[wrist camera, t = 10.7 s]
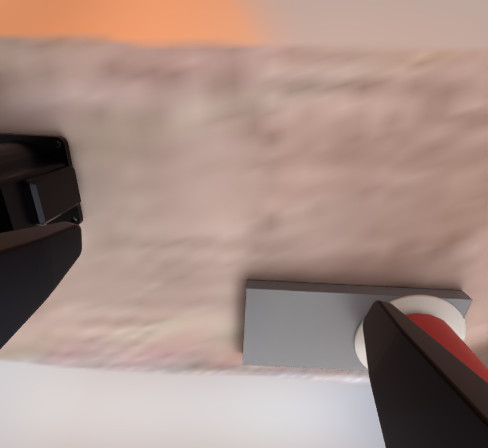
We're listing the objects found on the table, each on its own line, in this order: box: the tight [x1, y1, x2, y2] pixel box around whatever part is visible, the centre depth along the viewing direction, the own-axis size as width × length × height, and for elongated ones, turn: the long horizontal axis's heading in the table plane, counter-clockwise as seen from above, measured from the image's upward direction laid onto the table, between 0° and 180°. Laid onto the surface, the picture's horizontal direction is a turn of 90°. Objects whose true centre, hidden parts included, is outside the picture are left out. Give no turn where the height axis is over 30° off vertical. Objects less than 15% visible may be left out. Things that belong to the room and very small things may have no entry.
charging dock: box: [242, 280, 472, 371], centre depth 25 cm, size 18×9×2 cm, turn 88°
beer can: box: [405, 313, 488, 383], centre depth 18 cm, size 7×7×12 cm
